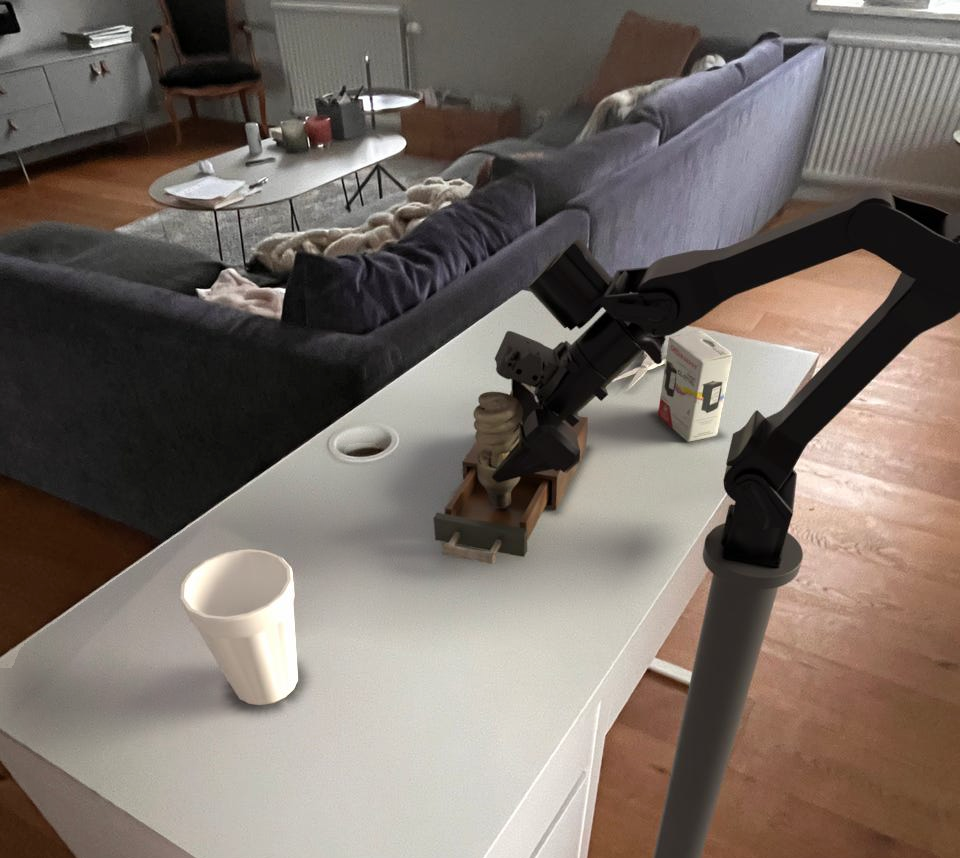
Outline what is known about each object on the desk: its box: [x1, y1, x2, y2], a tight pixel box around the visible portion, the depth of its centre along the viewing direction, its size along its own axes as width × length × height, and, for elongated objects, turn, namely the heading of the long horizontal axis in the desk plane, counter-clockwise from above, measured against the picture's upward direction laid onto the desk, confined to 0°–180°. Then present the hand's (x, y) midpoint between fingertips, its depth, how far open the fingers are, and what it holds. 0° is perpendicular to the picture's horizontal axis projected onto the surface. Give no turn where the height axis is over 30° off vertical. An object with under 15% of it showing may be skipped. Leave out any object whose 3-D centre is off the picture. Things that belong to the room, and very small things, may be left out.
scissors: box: [611, 351, 666, 391], centre depth 129 cm, size 11×1×20 cm
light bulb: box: [472, 391, 523, 511], centre depth 94 cm, size 6×6×15 cm
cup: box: [179, 548, 299, 706], centre depth 77 cm, size 10×10×13 cm
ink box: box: [657, 330, 733, 443], centre depth 112 cm, size 9×5×12 cm, turn 21°
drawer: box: [433, 467, 553, 565], centre depth 98 cm, size 18×11×3 cm, turn 160°
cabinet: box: [461, 415, 589, 511], centre depth 107 cm, size 15×12×5 cm
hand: (492, 457), depth 94 cm, fingers open, 9 cm apart
